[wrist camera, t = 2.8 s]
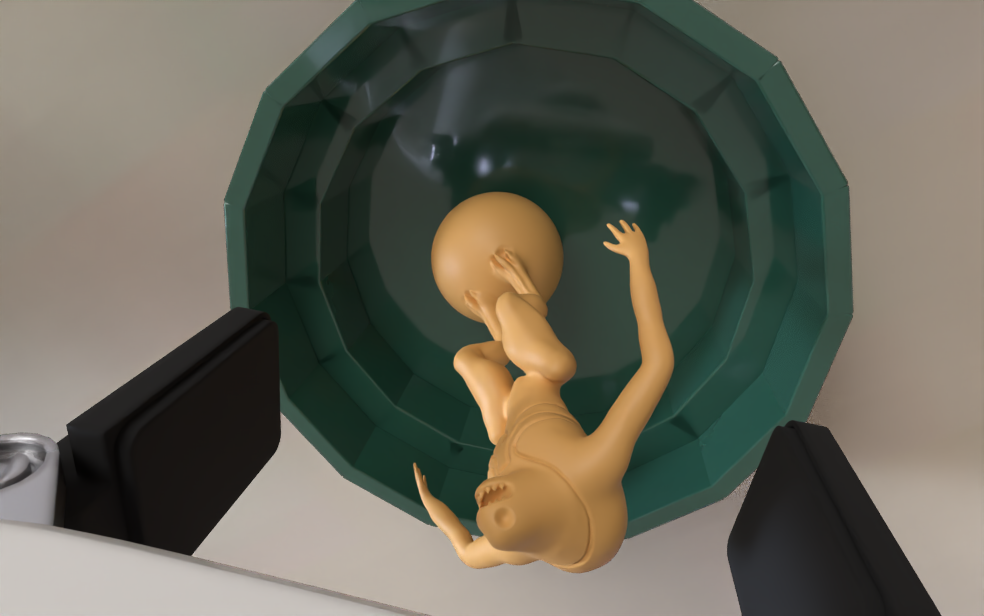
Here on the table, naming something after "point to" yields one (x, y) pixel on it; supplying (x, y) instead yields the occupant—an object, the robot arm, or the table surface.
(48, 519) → the robot arm
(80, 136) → the table surface
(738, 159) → the bowl
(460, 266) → the figurine
